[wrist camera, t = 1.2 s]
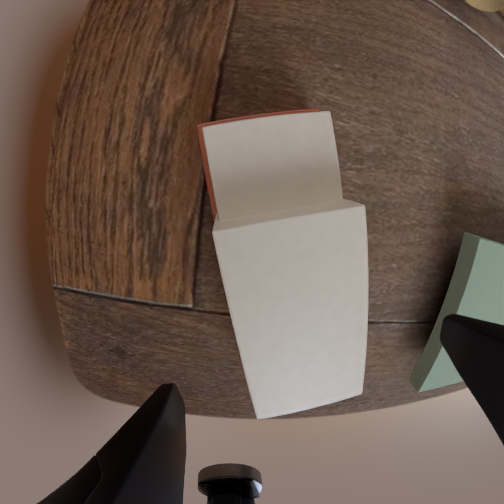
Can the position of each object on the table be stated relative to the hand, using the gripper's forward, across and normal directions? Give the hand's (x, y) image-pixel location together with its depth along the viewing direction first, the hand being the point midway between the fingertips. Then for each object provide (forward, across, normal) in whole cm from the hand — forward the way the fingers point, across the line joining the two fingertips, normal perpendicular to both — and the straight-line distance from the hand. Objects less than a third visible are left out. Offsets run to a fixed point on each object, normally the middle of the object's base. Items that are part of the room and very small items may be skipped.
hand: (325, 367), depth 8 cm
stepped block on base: (+8, 0, -1) cm, 8 cm away
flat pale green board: (+8, -27, +10) cm, 30 cm away
